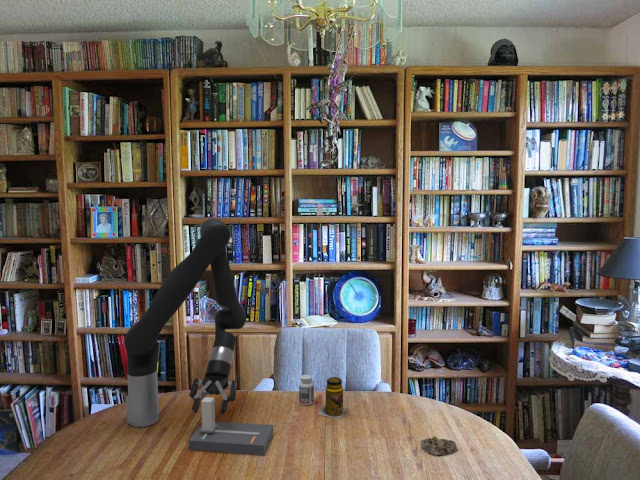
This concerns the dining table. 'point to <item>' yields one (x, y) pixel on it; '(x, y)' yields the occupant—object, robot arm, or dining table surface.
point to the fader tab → (208, 415)
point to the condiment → (333, 399)
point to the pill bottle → (306, 390)
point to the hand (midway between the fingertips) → (208, 413)
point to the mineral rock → (438, 446)
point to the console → (233, 438)
